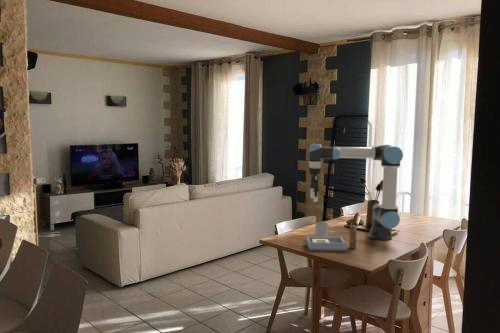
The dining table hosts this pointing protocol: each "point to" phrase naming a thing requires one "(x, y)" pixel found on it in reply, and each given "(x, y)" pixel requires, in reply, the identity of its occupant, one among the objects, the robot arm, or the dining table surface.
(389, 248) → the dining table surface
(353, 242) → the peg
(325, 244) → the crate
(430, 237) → the dining table surface
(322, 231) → the mug
